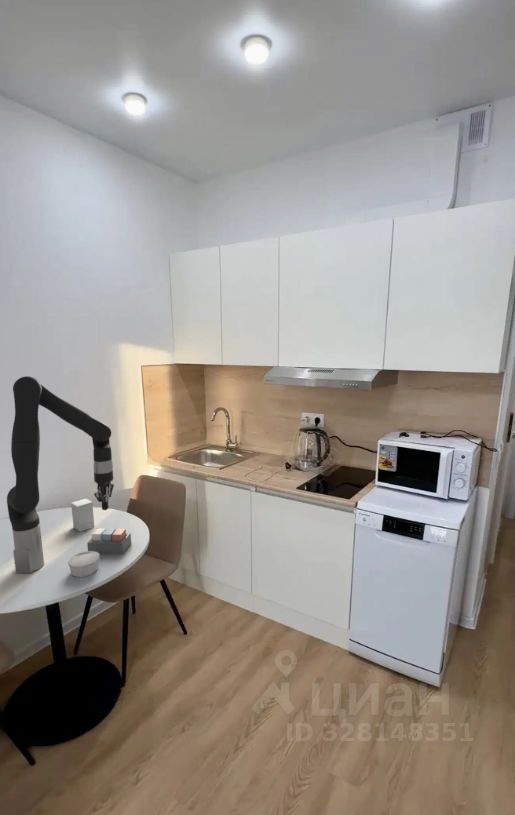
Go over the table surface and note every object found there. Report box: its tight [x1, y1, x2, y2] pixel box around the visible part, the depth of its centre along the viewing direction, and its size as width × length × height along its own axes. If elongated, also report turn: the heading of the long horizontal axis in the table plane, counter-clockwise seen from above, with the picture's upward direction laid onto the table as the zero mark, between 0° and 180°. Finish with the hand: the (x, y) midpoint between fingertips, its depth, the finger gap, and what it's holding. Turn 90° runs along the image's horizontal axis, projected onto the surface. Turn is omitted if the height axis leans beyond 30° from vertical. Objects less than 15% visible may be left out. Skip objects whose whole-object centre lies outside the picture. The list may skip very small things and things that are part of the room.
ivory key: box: [91, 527, 107, 541], centre depth 166 cm, size 5×4×5 cm
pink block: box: [112, 528, 127, 541], centre depth 166 cm, size 5×4×5 cm
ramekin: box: [67, 550, 101, 578], centre depth 151 cm, size 11×11×5 cm
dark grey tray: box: [86, 532, 132, 555], centre depth 166 cm, size 9×15×5 cm, turn 86°
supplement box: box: [70, 498, 95, 532], centre depth 186 cm, size 7×7×13 cm
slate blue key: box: [102, 528, 117, 541], centre depth 166 cm, size 5×4×5 cm
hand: (105, 509), depth 166 cm, fingers closed
